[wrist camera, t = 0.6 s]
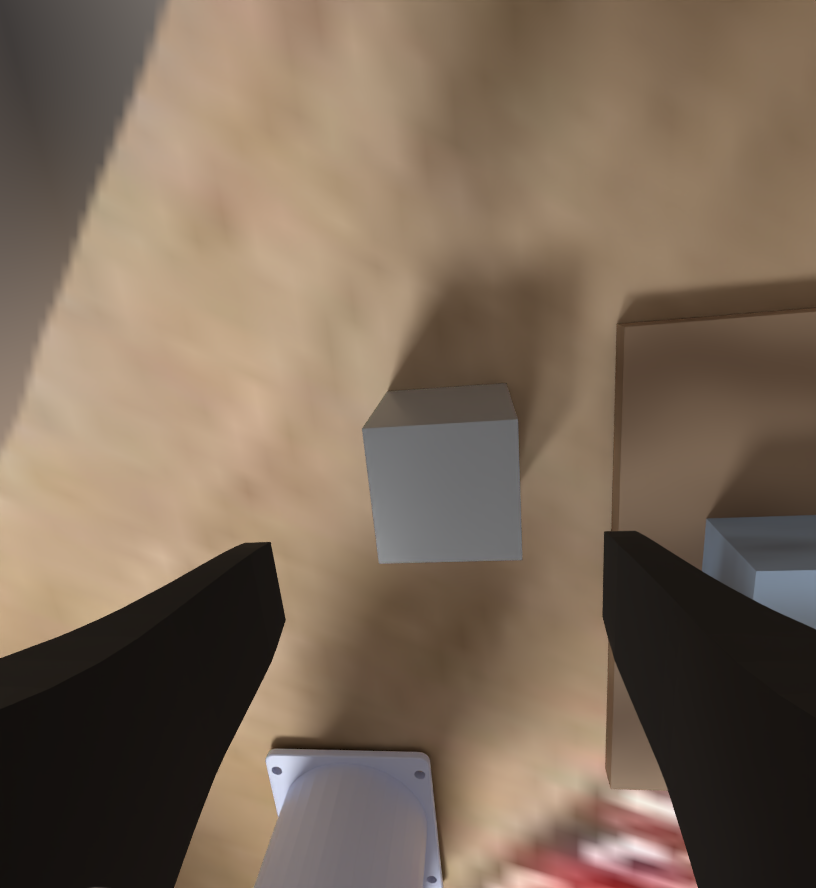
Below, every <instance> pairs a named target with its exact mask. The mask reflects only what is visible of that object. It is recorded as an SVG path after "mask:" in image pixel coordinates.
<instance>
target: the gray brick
mask: <svg viewBox="0 0 816 888" xmlns="http://www.w3.org/2000/svg"><path fill="white" fill-rule="evenodd" d="M362 432H363V440H364V448H365V456H366V464H367V472H368V480H369V488H370V496H371V504H372V512H373V520H374V528H375V536H376V544H377V552H378V560H379V564H382V563H422V562H463V561H503V560H522V531H521V499H520V467H519V435H518V418H517V415H516V412H515V408H514V405H513V402H512V399H511V396H510V393H509V390H508V387H507V384H506V383H499V384H485V385H470V386H456V387H441V388H427V389H412V390H398V391H387V393H386V394H385V396H384V397H383V398H382V400H381V401H380V403H379V404H378V406H377V407H376V409H375V410H374V412H373V413H372V415H371V416H370V418H369V419H368V421H367V422H366V424H365V425H364V427H363V428H362Z"/></svg>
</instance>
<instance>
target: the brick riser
mask: <svg viewBox="0 0 816 888" xmlns="http://www.w3.org/2000/svg"><path fill="white" fill-rule="evenodd" d="M611 531H637V532H639V533H641V534H643V535H645V536H646V537H648V538H650V539H651V540H653V541H655V542H656V543H658V544H659V545H661V546H663V547H664V548H666V549H667V550H669V551H670V552H672V553H674V554H675V555H677V556H678V557H680V558H682V559H683V560H685V561H686V562H688V563H690V564H691V565H693V566H694V567H696V568H698V569H699V570H701V571H703V572H704V573H706V574H708V575H709V576H711V577H713V578H714V579H716V580H718V581H720V582H721V583H723V584H725V585H727V586H728V587H730V588H732V589H734V590H736V591H738V592H740V593H742V594H743V595H745V596H747V597H749V598H751V599H753V600H755V601H756V602H758V603H760V604H762V605H764V606H766V607H768V608H770V609H772V610H774V611H777V612H779V613H781V614H783V615H785V616H787V617H790V618H792V619H794V620H796V621H799V622H801V623H803V624H805V625H807V626H810V627H812V628H814V629H816V308H808V309H795V310H783V311H771V312H758V313H746V314H734V315H722V316H709V317H697V318H685V319H672V320H660V321H648V322H636V323H623V324H617V334H616V373H615V412H614V451H613V490H612V529H611ZM605 769H606V773H607V777H608V780H609V784H610V788H611V789H629V790H661V791H668V789H667V786H666V784H665V781H664V778H663V776H662V773H661V770H660V768H659V765H658V762H657V760H656V758H655V755H654V753H653V751H652V748H651V746H650V744H649V741H648V739H647V737H646V734H645V732H644V730H643V727H642V725H641V722H640V720H639V718H638V715H637V713H636V711H635V708H634V706H633V704H632V701H631V699H630V697H629V694H628V692H627V689H626V687H625V685H624V682H623V680H622V677H621V675H620V673H619V670H618V668H617V665H616V663H615V660H614V657H613V653H612V650H611V646H610V643H609V645H608V684H607V723H606V762H605Z"/></svg>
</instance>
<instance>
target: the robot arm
mask: <svg viewBox="0 0 816 888" xmlns="http://www.w3.org/2000/svg"><path fill="white" fill-rule="evenodd" d="M285 620H286V619H285V614H284V609H283V604H282V599H281V594H280V588H279V583H278V578H277V573H276V568H275V562H274V557H273V552H272V547H271V542H257V543H243V544H241V545H238V546H236V547H234V548H232V549H230V550H228V551H226V552H224V553H222V554H220V555H218V556H217V557H215V558H213V559H211V560H209V561H208V562H206V563H204V564H202V565H201V566H199V567H197V568H195V569H194V570H192V571H190V572H188V573H187V574H185V575H183V576H181V577H179V578H178V579H176V580H174V581H172V582H171V583H169V584H167V585H165V586H163V587H161V588H160V589H158V590H156V591H154V592H152V593H150V594H148V595H146V596H144V597H143V598H141V599H139V600H137V601H135V602H133V603H131V604H129V605H127V606H125V607H124V608H122V609H120V610H117V611H115V612H113V613H111V614H109V615H107V616H105V617H103V618H101V619H99V620H96V621H94V622H92V623H89V624H87V625H85V626H83V627H80V628H78V629H76V630H73V631H71V632H69V633H66V634H64V635H62V636H59V637H57V638H54V639H51V640H49V641H46V642H43V643H40V644H38V645H35V646H32V647H30V648H27V649H24V650H22V651H19V652H16V653H14V654H11V655H8V656H5V657H3V658H0V888H174V886H175V883H176V880H177V877H178V874H179V872H180V869H181V866H182V863H183V860H184V858H185V855H186V852H187V849H188V846H189V844H190V841H191V838H192V835H193V832H194V830H195V827H196V824H197V822H198V819H199V817H200V814H201V811H202V809H203V806H204V804H205V801H206V798H207V796H208V793H209V791H210V788H211V786H212V783H213V780H214V778H215V775H216V773H217V771H218V769H219V767H220V764H221V762H222V760H223V758H224V756H225V753H226V751H227V750H228V748H229V746H230V744H231V742H232V740H233V738H234V736H235V734H236V732H237V730H238V728H239V726H240V724H241V722H242V720H243V718H244V716H245V714H246V712H247V710H248V708H249V706H250V704H251V702H252V700H253V698H254V696H255V694H256V692H257V690H258V688H259V686H260V684H261V682H262V680H263V678H264V676H265V674H266V672H267V670H268V668H269V666H270V664H271V662H272V659H273V656H274V654H275V651H276V648H277V645H278V642H279V639H280V636H281V633H282V630H283V627H284V623H285ZM603 620H604V624H605V628H606V632H607V635H608V639H609V643H610V646H611V650H612V653H613V657H614V660H615V663H616V665H617V668H618V670H619V673H620V675H621V677H622V680H623V682H624V685H625V687H626V689H627V692H628V694H629V697H630V699H631V701H632V704H633V706H634V708H635V711H636V713H637V715H638V718H639V720H640V722H641V725H642V727H643V730H644V732H645V734H646V737H647V739H648V741H649V744H650V746H651V748H652V751H653V753H654V755H655V758H656V760H657V762H658V765H659V768H660V770H661V773H662V776H663V778H664V781H665V784H666V786H667V789H668V792H669V795H670V798H671V801H672V804H673V808H674V811H675V814H676V817H677V820H678V824H679V827H680V830H681V833H682V836H683V839H684V843H685V846H686V849H687V852H688V856H689V859H690V862H691V866H692V869H693V873H694V876H695V879H696V883H697V886H698V888H816V629H814V628H812V627H810V626H807V625H805V624H803V623H801V622H799V621H796V620H794V619H792V618H790V617H787V616H785V615H783V614H781V613H779V612H777V611H774V610H772V609H770V608H768V607H766V606H764V605H762V604H760V603H758V602H756V601H755V600H753V599H751V598H749V597H747V596H745V595H743V594H742V593H740V592H738V591H736V590H734V589H732V588H730V587H728V586H727V585H725V584H723V583H721V582H720V581H718V580H716V579H714V578H713V577H711V576H709V575H708V574H706V573H704V572H703V571H701V570H699V569H698V568H696V567H694V566H693V565H691V564H690V563H688V562H686V561H685V560H683V559H682V558H680V557H678V556H677V555H675V554H674V553H672V552H670V551H669V550H667V549H666V548H664V547H663V546H661V545H659V544H658V543H656V542H655V541H653V540H651V539H650V538H648V537H646V536H645V535H643V534H641V533H639V532H637V531H607V532H604V570H603ZM266 765H267V770H268V774H269V778H270V783H271V787H272V792H273V796H274V800H275V805H276V809H277V814H278V819H277V822H276V825H275V828H274V831H273V834H272V837H271V839H270V842H269V845H268V848H267V851H266V854H265V857H264V859H263V862H262V865H261V868H260V871H259V874H258V877H257V879H256V882H255V885H254V888H443V879H442V869H441V860H440V850H439V841H438V831H437V822H436V812H435V803H434V793H433V783H432V774H431V764H430V759H429V757H428V756H427V755H426V754H424V753H422V752H399V751H357V750H315V749H272V750H270V751H269V752H268V754H267V757H266ZM420 771H422V772H420Z"/></svg>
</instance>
